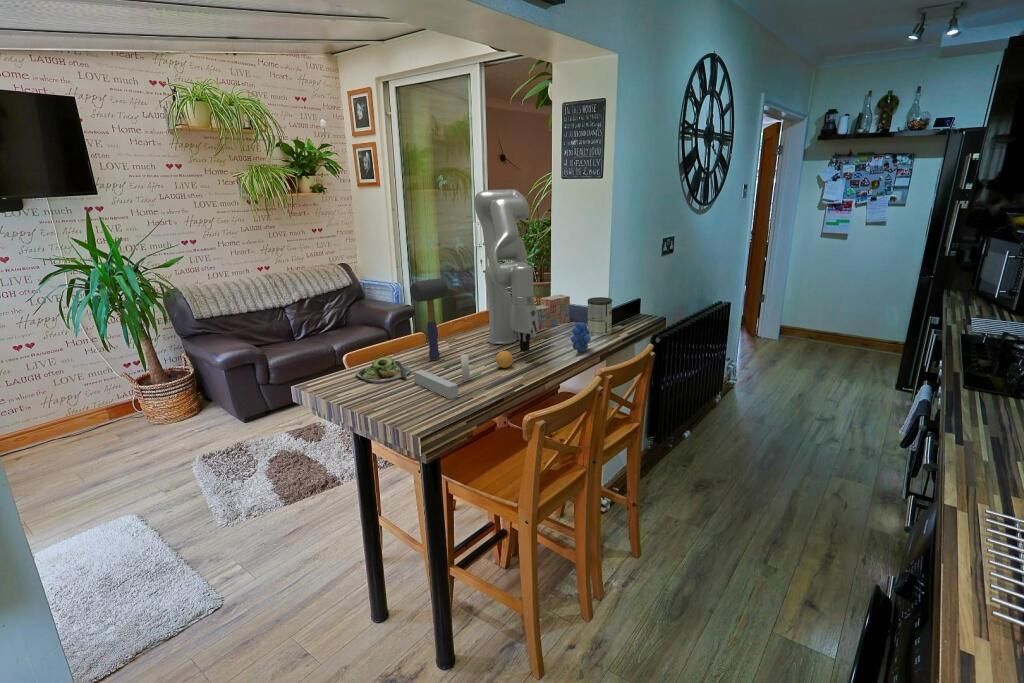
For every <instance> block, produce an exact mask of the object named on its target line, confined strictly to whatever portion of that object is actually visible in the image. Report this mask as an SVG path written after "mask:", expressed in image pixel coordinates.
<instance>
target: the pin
mask: <svg viewBox="0 0 1024 683" xmlns="http://www.w3.org/2000/svg"><path fill="white" fill-rule="evenodd" d="M469 362H470V361H469V354H465V353H464V354H461V355H460V363H461V366H460V367H461V377H462V378H461V381H462V380H469V381H470V364H469Z"/></svg>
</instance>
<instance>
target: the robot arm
mask: <svg viewBox="0 0 1024 683" xmlns="http://www.w3.org/2000/svg"><path fill="white" fill-rule="evenodd" d="M474 209H475V212H476V215H477V218H478V221H479V223H480V225H481V229H482V236H483V237H482V238H483V243H484V251H485V255H486V258H487V259H488V264H489V266H487V267H486V269H485V270H484V280H485V283H486V289H487V296H488V321H489V323H488V324H489V336H487V337H486V342H487V343H488V342H489V343H488V344H490V343H491V344H490V345H495V344H504V345H509V344H510V345H511V344H513V343H516V342H517V340H518V341H519V350H520V352H521V353H526V352H529V351H530V350H531V349H530V348H531V347H530V346H531V345H530V342H531V339H532V338H536V337H537V333H538V332H539V330H540V329H539V324H538V314H537V309H536V306H537V305H536V304H535V301H536V300H535V297H534V296H535V295H534V294H535V293H534V290H535V289H534V268H533V266H531V265H530V264H529V263H528V259H527V258H528V257H527V252H526V244H525V243H524V239H523V238H522V237H521V236H520V234H519V233H520V232H519V229H518V228H519V227H518V224H517V221H525V220H527V219H528V217H529V215H530V205H529V203H528V200H527V198H526V197H525V196H524V195H523V194H522V193H520V192H519V191H518V190H517V189H514V188H513V189H510V188H509V189H508V188H507V189H486V190H482V191H478V193H475V196H474ZM500 261H512V262H505V263H503V262H502V263H499V262H500ZM506 288H511V294H510V293H509V292H508V291H507V289H506Z"/></svg>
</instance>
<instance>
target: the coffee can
mask: <svg viewBox="0 0 1024 683" xmlns="http://www.w3.org/2000/svg"><path fill="white" fill-rule="evenodd" d="M612 305H613V299H612V298H609V297H605V296H604V297H602V296H601V297H600V296H599V297H597V296H596V297H590V298H588V299H587V328H588V329H589V331H590V334H589V335H595V336H605V335H609V334H611V333H612V323H613V320H612V316H613V315H612V312H613V309H612V308H613V306H612Z"/></svg>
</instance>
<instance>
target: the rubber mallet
mask: <svg viewBox="0 0 1024 683" xmlns="http://www.w3.org/2000/svg"><path fill="white" fill-rule="evenodd" d="M409 290H410V292H409V293H410V296H411V299H412V300H413V301H415V302H416V303H420V302H426V309H427V320H428V321H427V326H426V331H427V332H426V333H427V340H428V347H429V348H428V349H429V350H428V358H429V359H430V360H431V361H437V360H439V358H440V355H441V354H440V350H439V340H438V339H439V332H438V325H437V322H436V314H435V313H436V312H435V301H434V300H438V299H441V298H445V297H446V296H447V295H448V293H449V292H448V291H449V287H448V284H447V282H446V280H445V279H443V278H431V279H424V280H420V281H417V282H416V281H415V282H413V283H412V284H411V285H410V289H409Z"/></svg>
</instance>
